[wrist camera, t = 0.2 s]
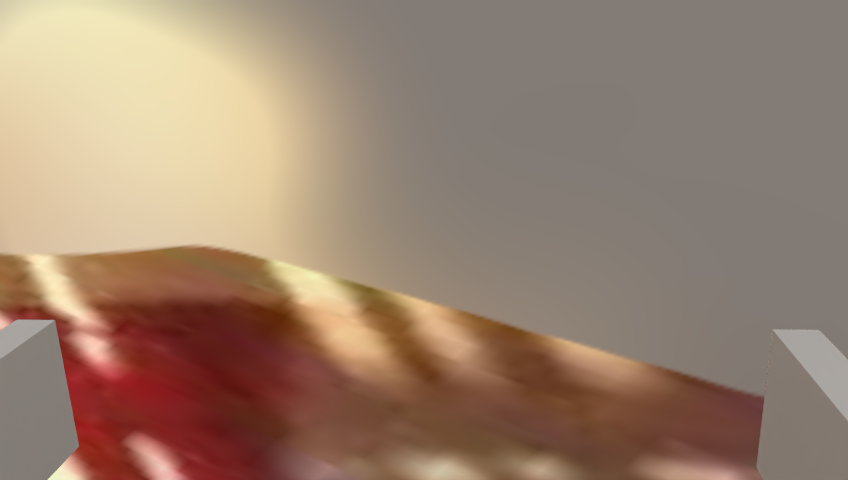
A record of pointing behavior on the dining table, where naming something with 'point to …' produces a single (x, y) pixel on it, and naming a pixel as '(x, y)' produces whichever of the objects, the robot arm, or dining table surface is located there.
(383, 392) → the dining table surface
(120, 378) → the dining table surface
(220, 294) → the dining table surface
